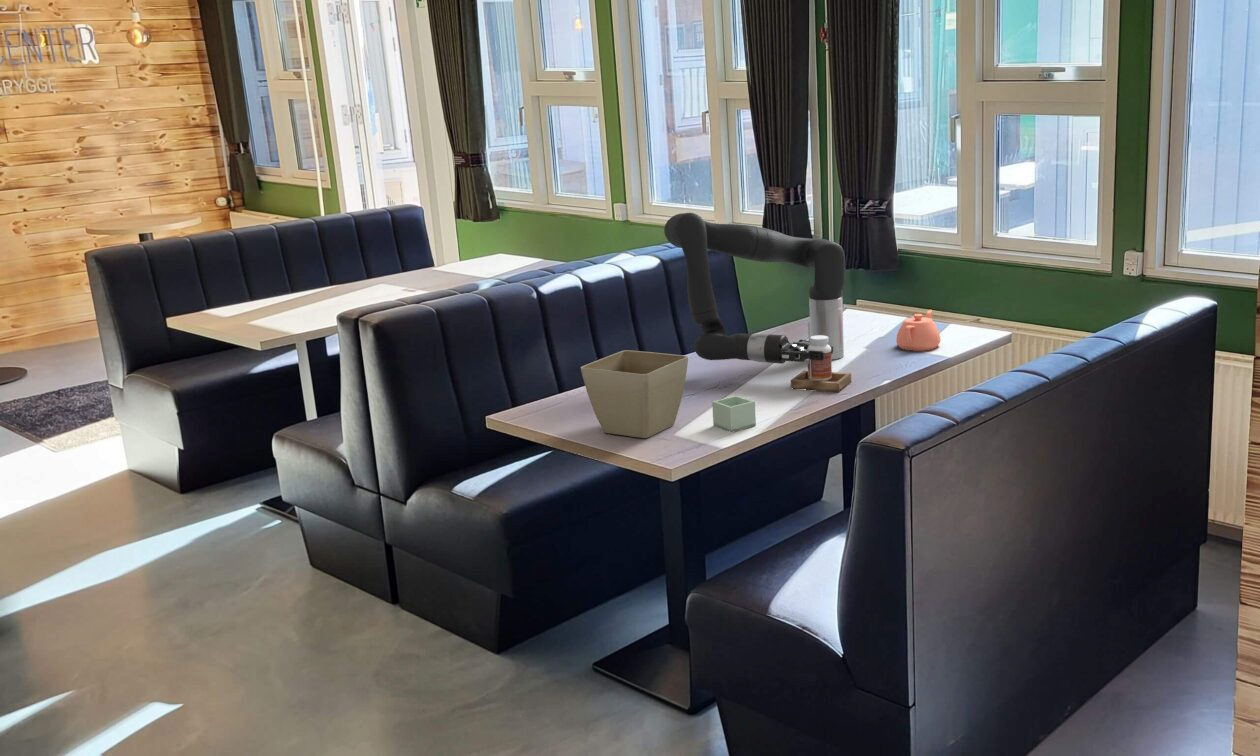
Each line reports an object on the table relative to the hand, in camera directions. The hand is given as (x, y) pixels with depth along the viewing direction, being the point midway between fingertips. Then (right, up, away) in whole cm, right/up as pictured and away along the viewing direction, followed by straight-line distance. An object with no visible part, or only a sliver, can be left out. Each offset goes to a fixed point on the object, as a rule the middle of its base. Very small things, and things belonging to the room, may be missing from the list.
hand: (828, 352), depth 316 cm
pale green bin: (-26, -18, -25) cm, 40 cm away
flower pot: (-49, -19, -22) cm, 57 cm away
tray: (-1, -9, +4) cm, 9 cm away
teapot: (+32, +2, +37) cm, 49 cm away
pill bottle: (-2, -7, +3) cm, 8 cm away
